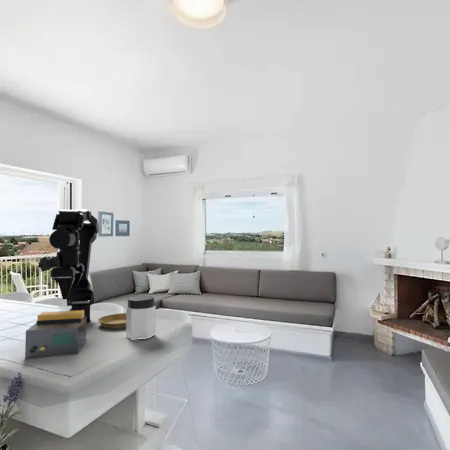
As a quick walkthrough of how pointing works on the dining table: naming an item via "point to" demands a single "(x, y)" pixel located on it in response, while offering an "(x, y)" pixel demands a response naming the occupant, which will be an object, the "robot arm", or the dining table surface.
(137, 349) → the dining table surface
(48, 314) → the key
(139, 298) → the jar
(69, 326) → the box
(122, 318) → the plant saucer
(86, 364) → the dining table surface
